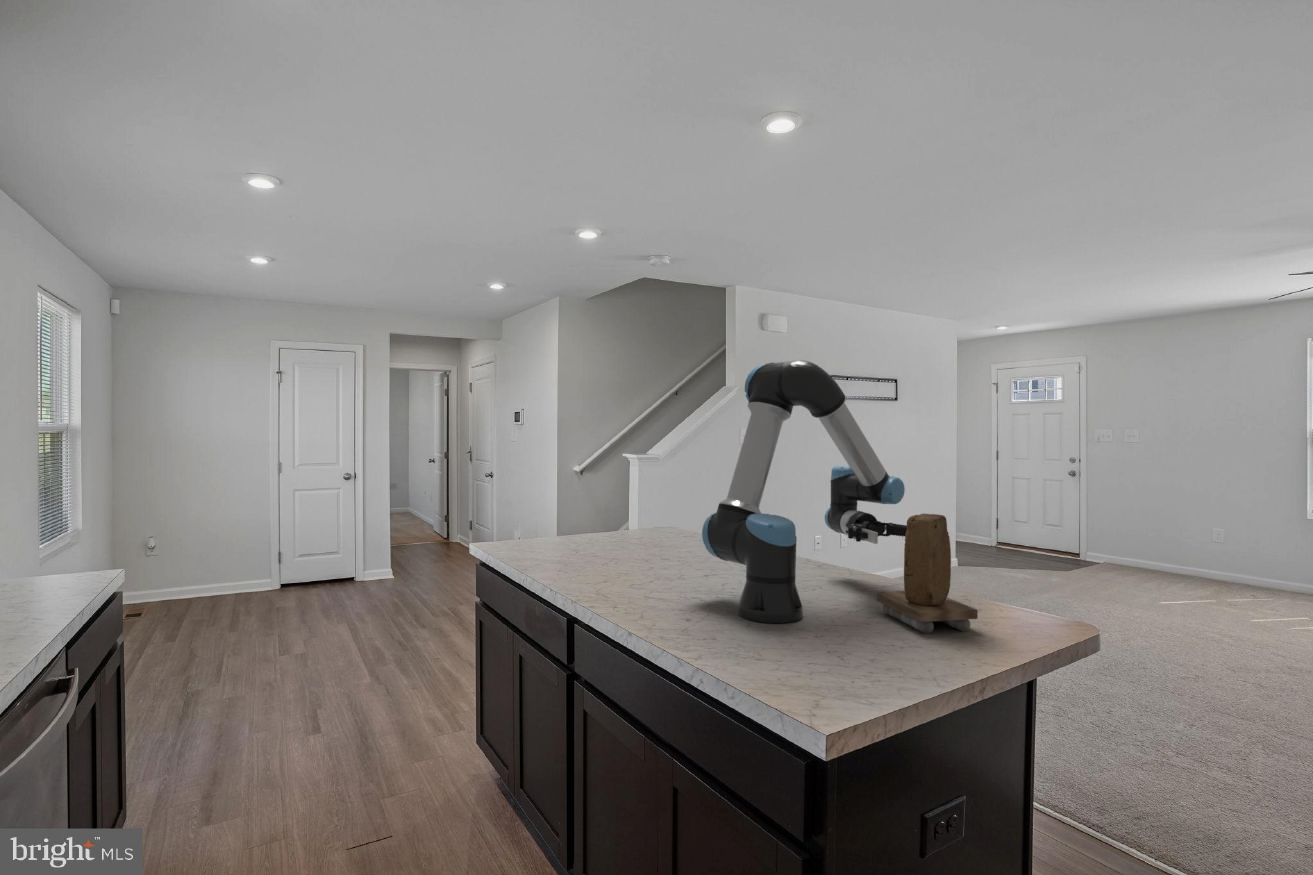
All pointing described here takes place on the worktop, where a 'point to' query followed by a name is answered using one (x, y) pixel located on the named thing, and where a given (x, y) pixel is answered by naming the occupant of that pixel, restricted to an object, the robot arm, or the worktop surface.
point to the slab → (927, 612)
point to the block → (927, 560)
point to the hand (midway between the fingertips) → (901, 537)
